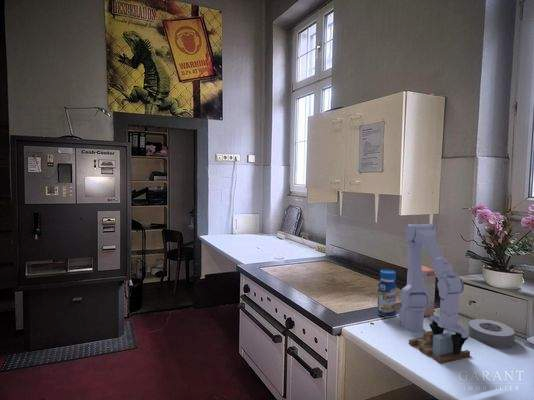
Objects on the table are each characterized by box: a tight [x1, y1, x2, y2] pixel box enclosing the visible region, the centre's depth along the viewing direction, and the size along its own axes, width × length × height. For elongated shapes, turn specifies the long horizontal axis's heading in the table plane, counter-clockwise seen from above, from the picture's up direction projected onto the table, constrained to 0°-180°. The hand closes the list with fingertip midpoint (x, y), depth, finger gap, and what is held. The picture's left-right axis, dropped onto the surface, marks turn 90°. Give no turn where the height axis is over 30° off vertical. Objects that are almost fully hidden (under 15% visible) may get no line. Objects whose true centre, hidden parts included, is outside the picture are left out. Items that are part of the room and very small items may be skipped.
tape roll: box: [467, 318, 516, 349], centre depth 140 cm, size 15×15×5 cm
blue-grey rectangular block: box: [432, 331, 463, 357], centre depth 125 cm, size 3×10×7 cm, turn 110°
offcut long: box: [418, 339, 433, 346], centre depth 132 cm, size 3×9×2 cm, turn 110°
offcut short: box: [422, 330, 433, 342], centre depth 132 cm, size 3×6×2 cm, turn 110°
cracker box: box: [406, 265, 437, 317], centre depth 167 cm, size 14×6×21 cm, turn 9°
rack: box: [408, 336, 472, 365], centre depth 128 cm, size 15×14×2 cm
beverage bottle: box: [376, 269, 398, 319], centre depth 162 cm, size 8×8×20 cm
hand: (447, 349), depth 125 cm, fingers open, 7 cm apart
